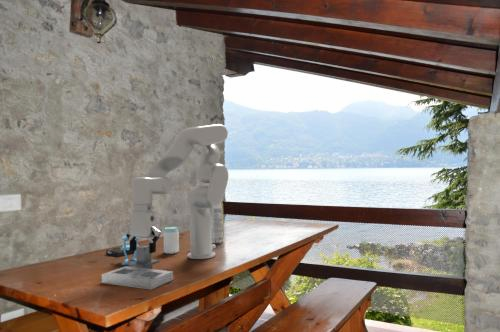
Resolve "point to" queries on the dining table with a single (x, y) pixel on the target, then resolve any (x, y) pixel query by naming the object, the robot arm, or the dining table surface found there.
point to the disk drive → (118, 252)
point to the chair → (128, 248)
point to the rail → (137, 277)
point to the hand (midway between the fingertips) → (142, 251)
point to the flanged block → (143, 258)
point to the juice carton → (217, 224)
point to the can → (171, 240)
